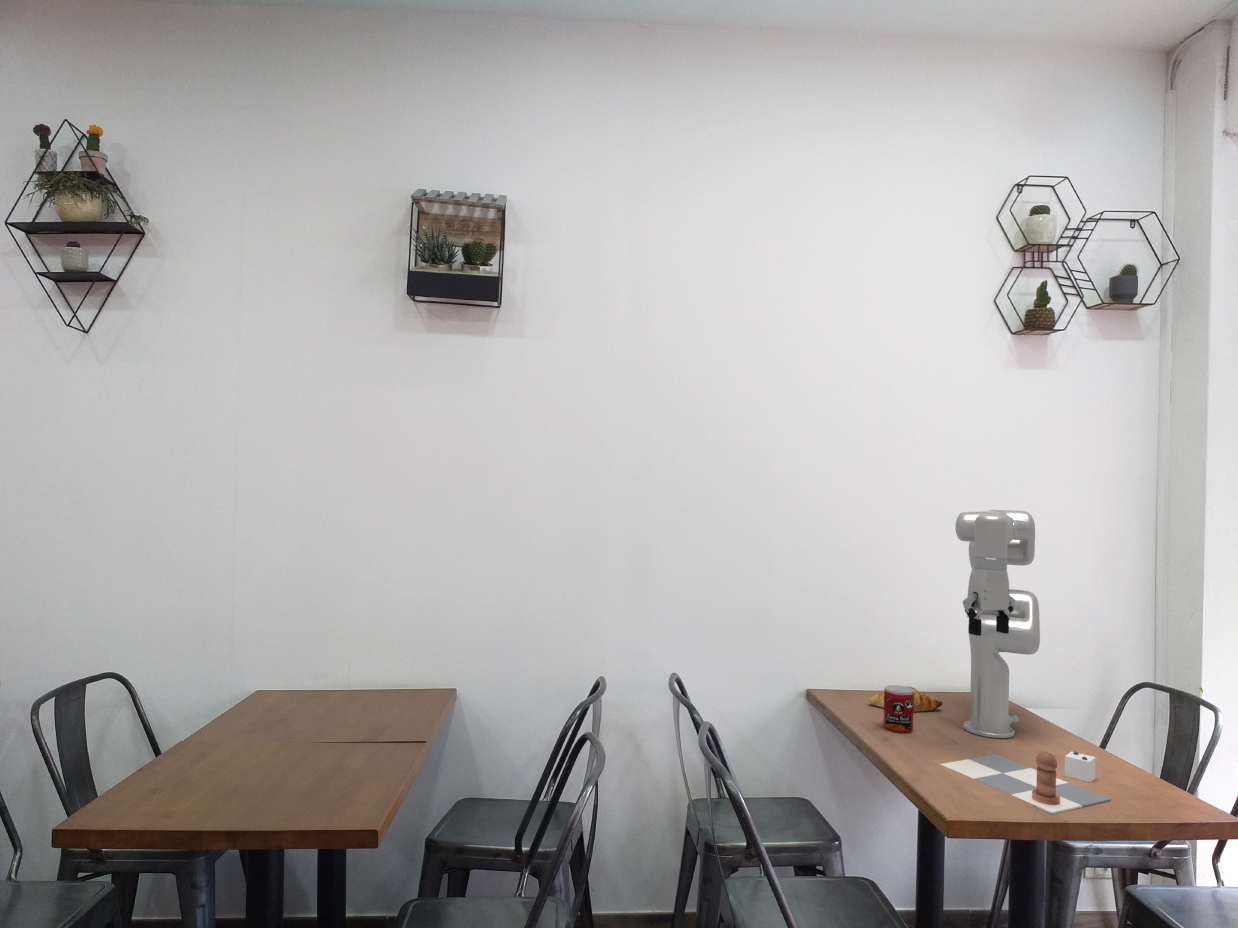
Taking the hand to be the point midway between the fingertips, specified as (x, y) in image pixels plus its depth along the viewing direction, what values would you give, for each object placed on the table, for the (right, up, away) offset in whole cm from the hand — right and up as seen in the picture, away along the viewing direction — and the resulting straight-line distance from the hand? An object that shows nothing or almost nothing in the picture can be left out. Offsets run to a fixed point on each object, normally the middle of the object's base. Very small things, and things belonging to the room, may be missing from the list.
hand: (988, 633), depth 191 cm
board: (-1, -30, -17) cm, 35 cm away
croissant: (-6, -32, +40) cm, 51 cm away
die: (+15, -31, -13) cm, 36 cm away
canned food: (-16, -31, +19) cm, 39 cm away
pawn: (-1, -29, -28) cm, 40 cm away
